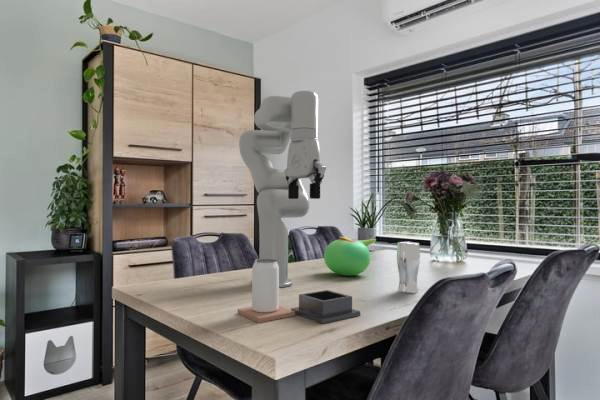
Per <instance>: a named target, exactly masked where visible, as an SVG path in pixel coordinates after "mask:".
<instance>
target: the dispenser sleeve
mask: <svg viewBox="0 0 600 400" xmlns="http://www.w3.org/2000/svg"><path fill="white" fill-rule="evenodd" d="M290 310H292V311H295V315H296V314H297V315H296V316H299V315H300V316H299V317H303V318H304V319H307V318H308V319H307V320H310V319H311V320H310V321H313V320H314V321H313V322H316V321H317V322H316V323H318V322H319V324H321V323H324V324H327V323H328V322H329V323H333V322H337V320H338V321H343V320H347V319H350V318H351V319H352V318H354V317H360V316H361V310H357V309H354V308H353V296H351V295H348V294H344V293H340V292H336V291H332V290H328V289H325V290H319V291H312V292H306V293H299V294H298V306H297V307H292V308H290ZM346 318H347V319H346ZM332 321H333V322H332Z"/></svg>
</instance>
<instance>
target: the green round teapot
mask: <svg viewBox="0 0 600 400" xmlns="http://www.w3.org/2000/svg"><path fill="white" fill-rule="evenodd" d="M376 241H377V239H375V238H369V239H364V240H357V239H354V238H350V237H344V236H339V239H336V240H334V241H331V242H330V243H329V244H328V245H327V247H326V248H325V249H324V254H323V260H324V263H325V265H326V267H327V268H328V269H329V270H330V271H331V272H334V273H335V274H337V275H339V276H340V275H341V276H345V277H346V276H349V277H350V276H351V277H352V276H358V275H360V274H362V273H364V272H365V271H366V270H367V269H368V267H369V266H370V263H371V260H372V259H371V252H370V250H369V249H368V246H370V245H372V244H374V243H376Z"/></svg>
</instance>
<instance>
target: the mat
mask: <svg viewBox="0 0 600 400" xmlns="http://www.w3.org/2000/svg"><path fill="white" fill-rule="evenodd" d="M237 314H238V315H240V316H243V317H244V318H247V319H250V320H252V321H253V322H254V321H255V322H256V323H258V324H259V323H265V322H270V320H271V321H276V320H280V318H281V319H285V318H286V319H287V318H289V317H296V314H295V311H292V310H291V309H289V308H286V307H283V306H281V305H279V308H278V309H277V311H275V312H271V313H258V312H255V311H254V310H253V309H252V306H248V307H247V306H246V307H243V308H237ZM275 319H276V320H275Z"/></svg>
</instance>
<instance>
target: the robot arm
mask: <svg viewBox="0 0 600 400" xmlns="http://www.w3.org/2000/svg"><path fill="white" fill-rule="evenodd" d="M253 120H254V124H255V126H256V127H257V128H258V129H250V130H246V131H244V132H242V134H241V135H240V136H239V140H238V146H239V152H240V153H239V154H240V157H241V159H242V161H243V162H244V164H245V165H246V167H247V169H248V171H249V173H250V175H251V176H250V177H251V178H252V181H253V184H254V187H255V189H256V191H257V193H258V195H257V198H256V206H257V207H256V208H257V213H258V223H259V226H258V227H259V228H258V229H259V233H258V234H259V253H258V254H259V258H258V259H274V260H277V264H278V266H279V288H286V287H290V286H292V285H293V280H292V279H290V278H289V232H288V231H289V230H288V227H287V226H286V225H285V223H284V222H283V220H282V219H285V218H286V219H287V218H291V219H292V218H294V219H295V218H302V217H305V216H306V215H307V214H308V212H309V209H310V200H311V199H313V200H314V199H315V200H317V199H321V184H322V183H323V181H322V180H323V179H324V177H325V174H326V173H325V172H326V169H327V166H326V165H325V164H323V163H321V152H320V150H321V149H320V143H319V97H318V94H317V93H316V92H314V91H311V90H300V91H295V92H294V93H292V95H291V97H289V96H282V95H271V96H270V95H269V96H267V97H264V98H263V99H262V101H261V103H260V106H259V108H258V109H257V110H256V111H255V113H254V116H253ZM259 129H260V130H259ZM289 142H290V143H289ZM287 147H288V150H287ZM286 150H287V157H286V158H287V160H286V168H285V169H276V168H274V165H273V163H272V161H271V159H269V158H268V157H267V156H265V155H266V154H267V155H282V154H283V153H284V152H286ZM264 154H265V155H264ZM301 179H309V180H310V182H311V183H309V196H308V194H307V192H306V190H305V187H304V185H303V183H302V180H301ZM309 198H310V200H309Z"/></svg>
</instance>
